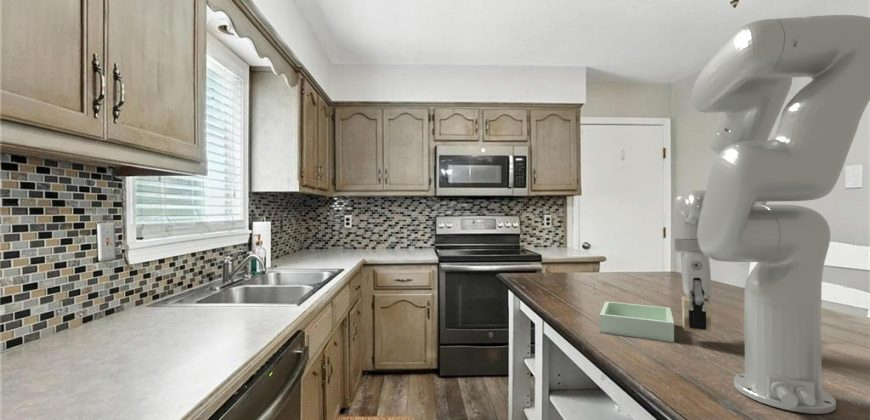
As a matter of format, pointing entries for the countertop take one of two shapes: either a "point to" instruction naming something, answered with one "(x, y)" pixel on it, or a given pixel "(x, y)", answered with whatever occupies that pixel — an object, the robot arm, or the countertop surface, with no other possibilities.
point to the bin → (637, 321)
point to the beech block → (686, 315)
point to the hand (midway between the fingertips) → (696, 325)
